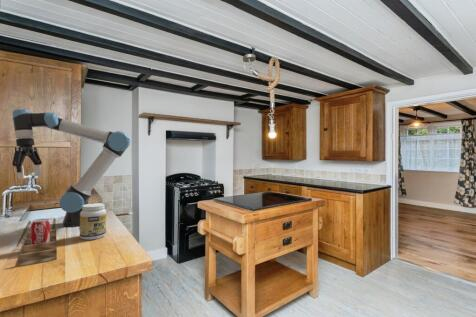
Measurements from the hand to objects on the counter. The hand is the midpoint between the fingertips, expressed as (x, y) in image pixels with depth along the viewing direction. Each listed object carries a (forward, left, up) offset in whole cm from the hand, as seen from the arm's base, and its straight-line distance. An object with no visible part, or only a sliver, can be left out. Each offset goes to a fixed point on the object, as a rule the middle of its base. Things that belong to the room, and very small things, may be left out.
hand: (30, 177), depth 141 cm
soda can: (-6, +32, -29) cm, 44 cm away
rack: (-6, +32, -30) cm, 45 cm away
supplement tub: (-28, +24, -31) cm, 48 cm away
